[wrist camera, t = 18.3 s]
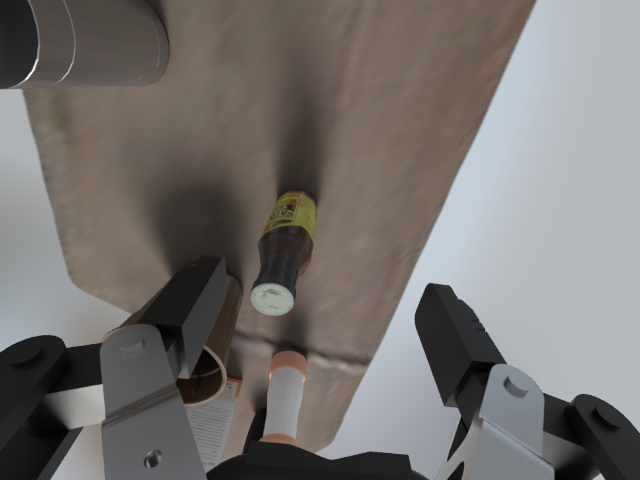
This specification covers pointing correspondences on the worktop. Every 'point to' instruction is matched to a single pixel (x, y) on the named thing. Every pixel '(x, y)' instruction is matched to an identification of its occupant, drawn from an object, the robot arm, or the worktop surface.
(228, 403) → the cracker box
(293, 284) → the sauce bottle
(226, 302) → the plant pot
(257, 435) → the mug
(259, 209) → the worktop surface
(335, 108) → the worktop surface
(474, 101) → the worktop surface
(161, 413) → the robot arm
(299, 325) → the worktop surface
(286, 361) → the pepper shaker
